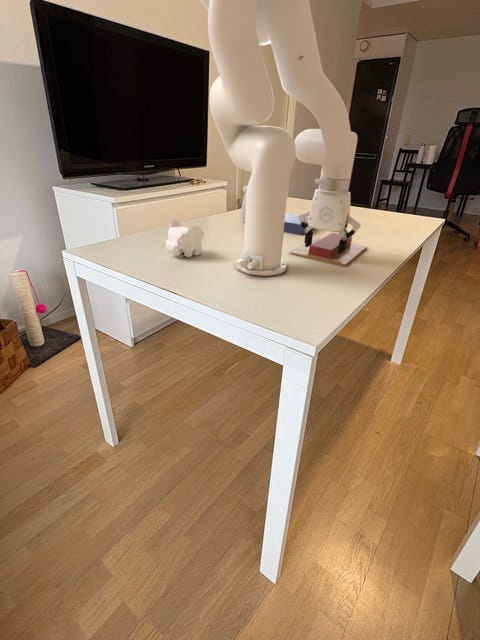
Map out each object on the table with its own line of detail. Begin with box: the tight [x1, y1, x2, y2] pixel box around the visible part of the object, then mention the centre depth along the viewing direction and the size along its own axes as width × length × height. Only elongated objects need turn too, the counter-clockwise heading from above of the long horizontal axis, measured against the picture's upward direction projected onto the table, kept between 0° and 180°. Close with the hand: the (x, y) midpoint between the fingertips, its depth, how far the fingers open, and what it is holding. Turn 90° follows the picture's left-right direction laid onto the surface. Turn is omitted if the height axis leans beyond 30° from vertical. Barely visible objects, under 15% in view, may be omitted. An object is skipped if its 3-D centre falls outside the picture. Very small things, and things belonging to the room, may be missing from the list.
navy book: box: [284, 213, 314, 236], centre depth 125 cm, size 12×17×4 cm
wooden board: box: [290, 237, 367, 267], centre depth 102 cm, size 20×16×1 cm
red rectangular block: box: [308, 232, 353, 258], centre depth 102 cm, size 18×6×2 cm, turn 146°
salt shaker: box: [239, 184, 248, 224], centre depth 128 cm, size 6×6×13 cm
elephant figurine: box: [160, 218, 205, 258], centre depth 92 cm, size 10×12×9 cm
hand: (323, 249), depth 97 cm, fingers open, 9 cm apart
